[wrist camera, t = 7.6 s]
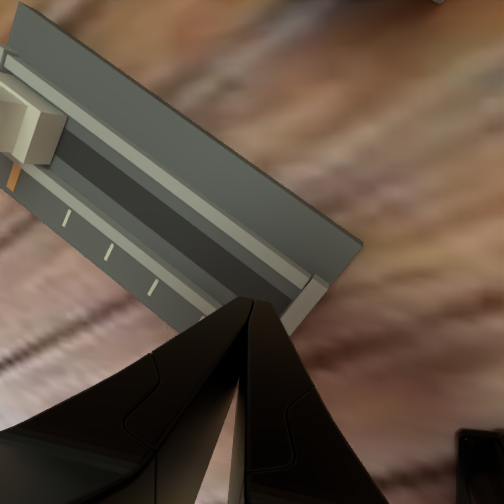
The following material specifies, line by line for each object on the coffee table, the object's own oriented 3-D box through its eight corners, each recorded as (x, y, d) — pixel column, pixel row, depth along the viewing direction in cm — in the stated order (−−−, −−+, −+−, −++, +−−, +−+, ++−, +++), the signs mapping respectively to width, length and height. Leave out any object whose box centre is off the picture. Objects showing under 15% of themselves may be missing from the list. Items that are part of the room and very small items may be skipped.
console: (362, 242, 20) (362, 250, 18) (252, 377, 24) (241, 397, 22) (35, 9, 23) (3, -7, 21) (-11, 165, 27) (-42, 165, 25)
